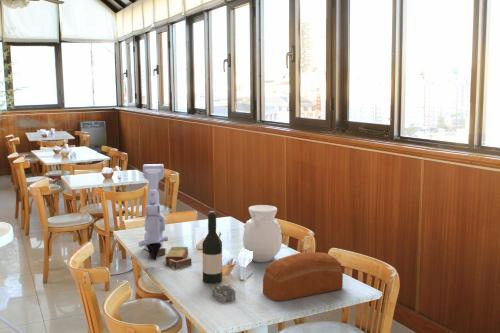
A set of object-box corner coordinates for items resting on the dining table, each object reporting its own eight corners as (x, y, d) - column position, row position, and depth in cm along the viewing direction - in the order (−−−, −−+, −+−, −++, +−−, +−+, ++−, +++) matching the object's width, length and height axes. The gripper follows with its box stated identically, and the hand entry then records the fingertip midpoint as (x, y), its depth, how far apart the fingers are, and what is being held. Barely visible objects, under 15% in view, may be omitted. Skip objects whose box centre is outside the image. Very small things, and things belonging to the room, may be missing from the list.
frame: (148, 257, 276) (148, 251, 276) (163, 253, 282) (163, 247, 281) (176, 268, 260) (176, 262, 259) (191, 264, 266) (191, 258, 265)
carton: (165, 265, 266) (165, 256, 265) (171, 254, 282) (171, 246, 281) (183, 265, 266) (183, 256, 265) (188, 254, 282) (188, 246, 281)
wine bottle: (226, 279, 247) (225, 210, 242) (215, 285, 239) (214, 214, 235) (209, 276, 251) (209, 208, 246) (198, 281, 244) (198, 212, 239)
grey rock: (210, 294, 231) (210, 284, 230) (227, 291, 234) (227, 281, 233) (219, 303, 221) (219, 293, 220) (237, 300, 224) (237, 290, 223)
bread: (259, 291, 233) (259, 254, 230) (326, 279, 248) (327, 244, 245) (276, 303, 221) (276, 264, 218) (346, 289, 236) (347, 252, 233)
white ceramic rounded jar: (275, 267, 263) (275, 213, 259) (237, 262, 268) (237, 210, 265) (286, 255, 280) (286, 205, 276) (250, 251, 286) (250, 202, 282)
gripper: (144, 234, 255) (145, 264, 257) (171, 229, 265) (171, 257, 267) (135, 231, 260) (136, 260, 262) (162, 226, 270) (163, 254, 272)
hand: (153, 259), depth 265 cm, fingers closed
